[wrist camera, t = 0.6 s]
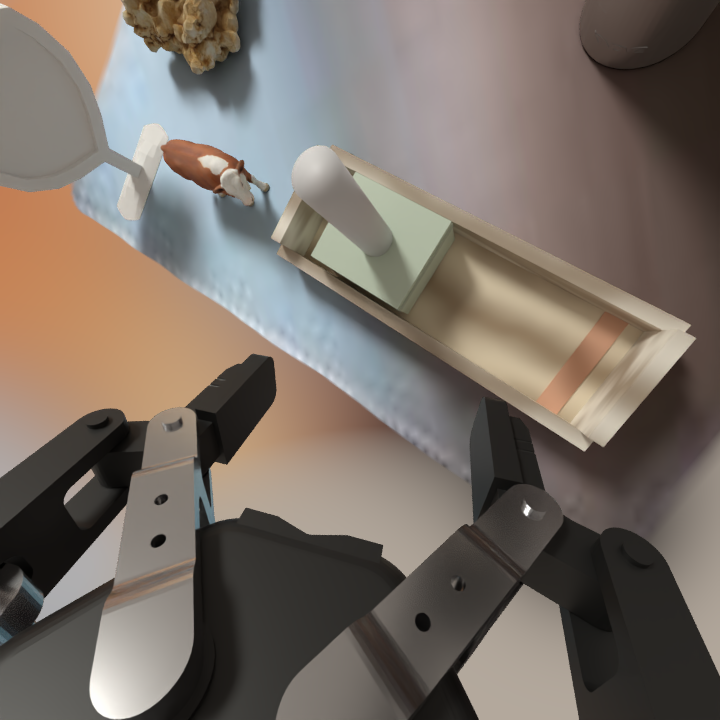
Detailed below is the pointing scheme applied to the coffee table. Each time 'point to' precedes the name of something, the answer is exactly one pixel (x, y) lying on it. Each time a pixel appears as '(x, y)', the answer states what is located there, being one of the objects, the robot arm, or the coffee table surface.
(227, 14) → the mineral formation
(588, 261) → the coffee table surface
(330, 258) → the green block with post
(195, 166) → the bull figurine
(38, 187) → the heart sculpture
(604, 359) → the bay
